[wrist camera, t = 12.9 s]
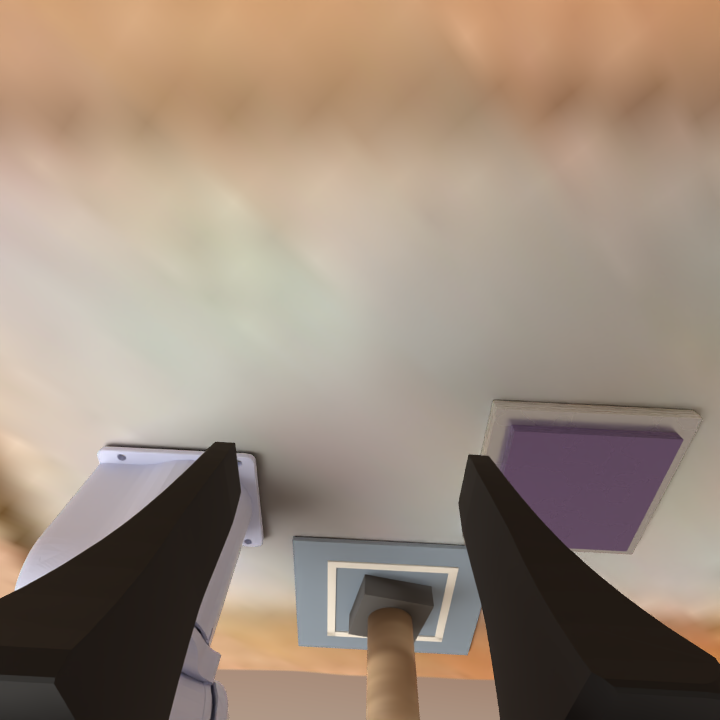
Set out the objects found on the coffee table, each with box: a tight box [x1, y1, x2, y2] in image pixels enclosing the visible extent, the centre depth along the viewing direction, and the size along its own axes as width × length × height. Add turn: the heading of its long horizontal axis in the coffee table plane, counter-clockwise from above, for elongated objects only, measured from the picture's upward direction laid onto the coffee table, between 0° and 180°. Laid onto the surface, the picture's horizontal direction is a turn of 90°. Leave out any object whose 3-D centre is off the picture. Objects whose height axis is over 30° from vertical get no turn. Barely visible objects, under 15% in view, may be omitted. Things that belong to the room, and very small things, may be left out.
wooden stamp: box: [348, 574, 434, 720], centre depth 29 cm, size 5×5×8 cm
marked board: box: [293, 537, 482, 655], centre depth 32 cm, size 14×13×1 cm
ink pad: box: [463, 400, 703, 554], centre depth 26 cm, size 11×11×1 cm
